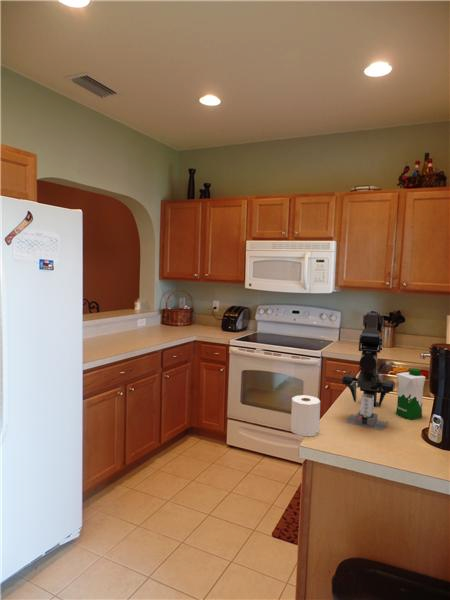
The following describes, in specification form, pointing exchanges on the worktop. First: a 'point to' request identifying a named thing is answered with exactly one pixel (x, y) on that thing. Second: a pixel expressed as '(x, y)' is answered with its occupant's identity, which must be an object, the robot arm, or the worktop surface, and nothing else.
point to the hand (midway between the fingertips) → (367, 404)
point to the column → (367, 405)
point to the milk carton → (410, 394)
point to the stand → (367, 421)
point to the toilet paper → (305, 415)
